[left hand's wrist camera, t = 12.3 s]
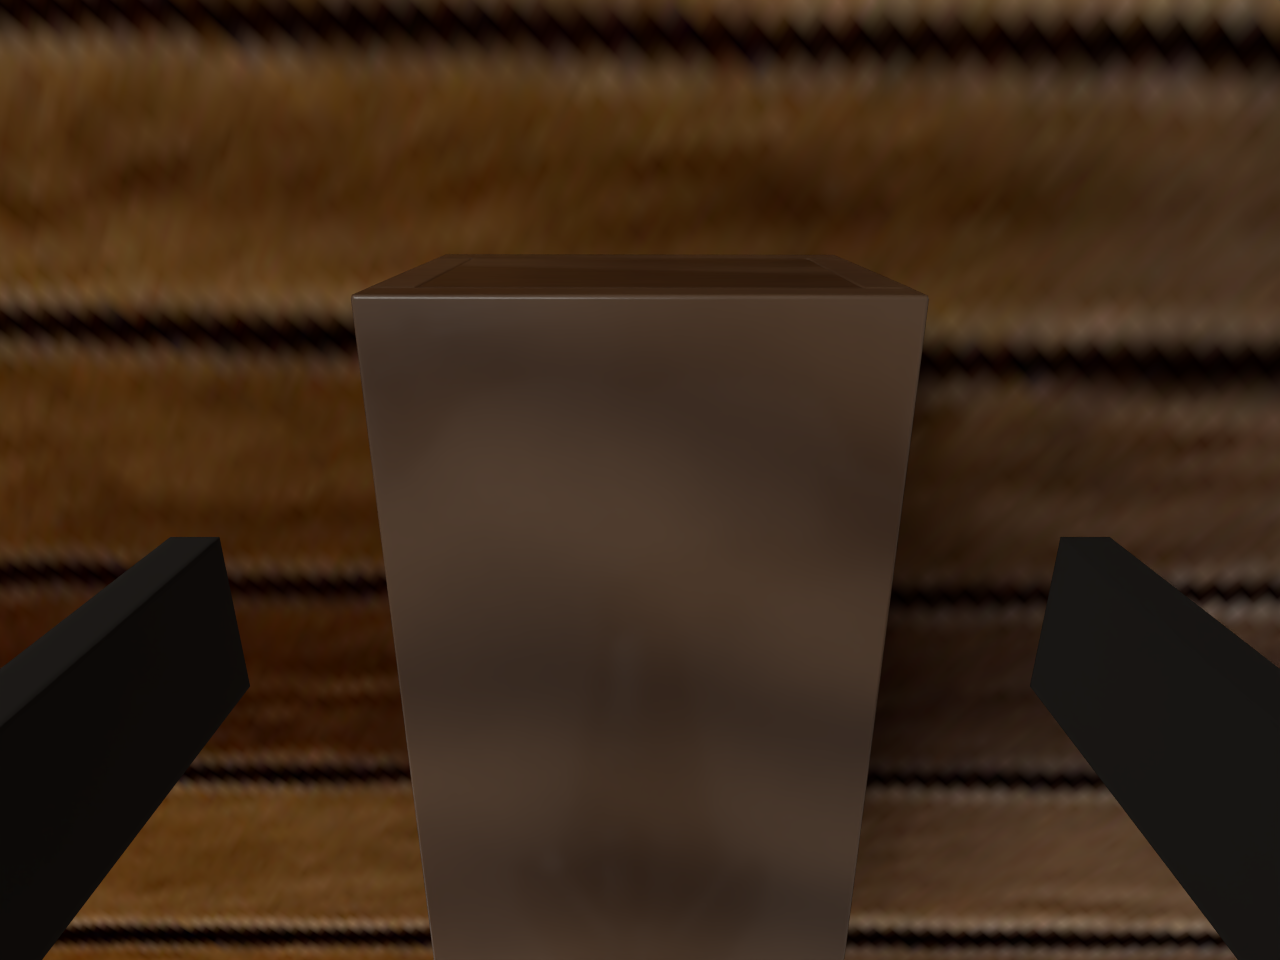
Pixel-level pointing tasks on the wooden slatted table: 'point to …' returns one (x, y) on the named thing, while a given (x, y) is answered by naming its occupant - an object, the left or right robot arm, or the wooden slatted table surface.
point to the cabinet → (639, 590)
